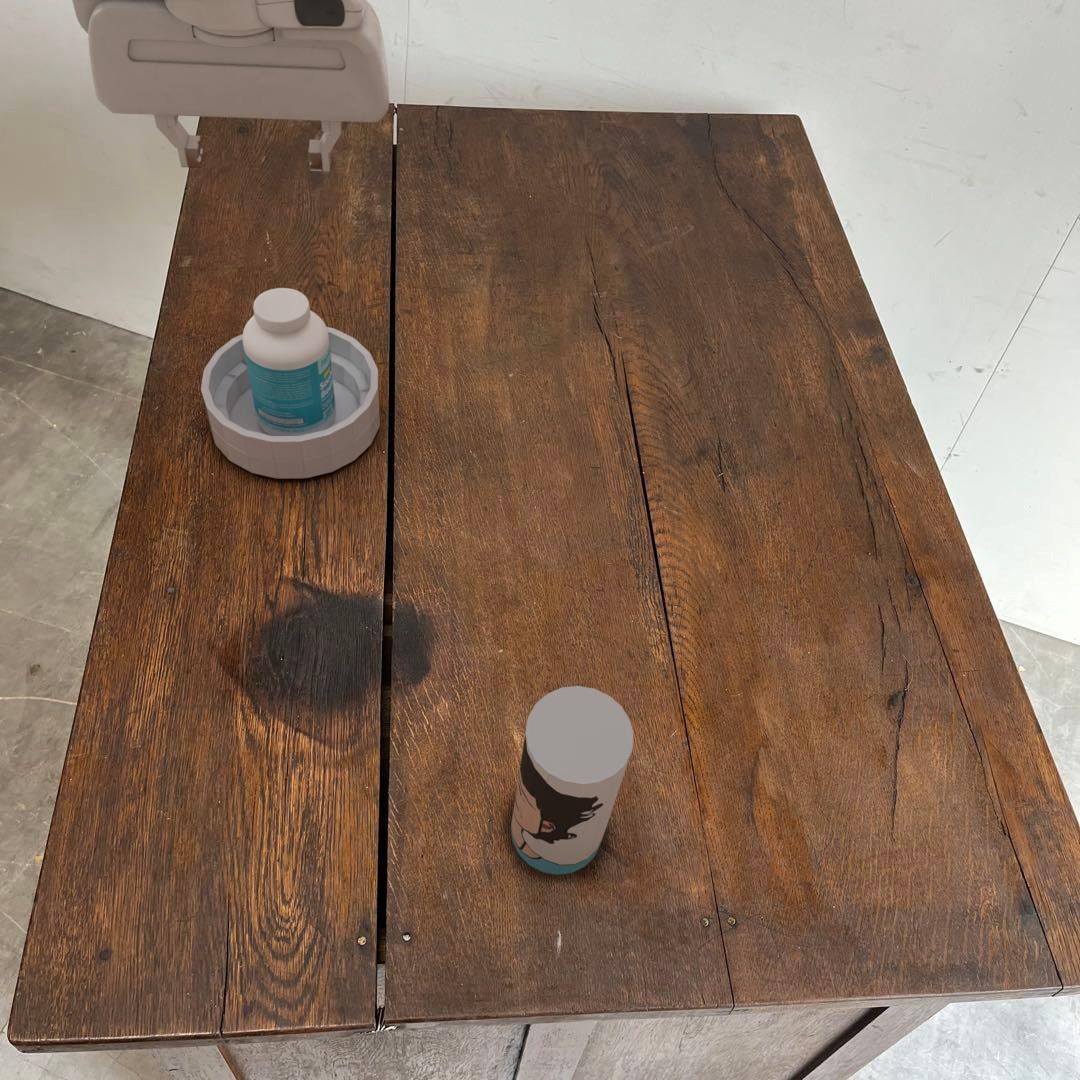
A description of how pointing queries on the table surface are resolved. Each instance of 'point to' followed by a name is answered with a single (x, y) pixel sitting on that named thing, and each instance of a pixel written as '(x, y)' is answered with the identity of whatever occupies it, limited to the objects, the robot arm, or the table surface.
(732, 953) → the table surface
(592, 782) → the printed label cylinder
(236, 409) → the faceted round dish
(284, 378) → the pill bottle
